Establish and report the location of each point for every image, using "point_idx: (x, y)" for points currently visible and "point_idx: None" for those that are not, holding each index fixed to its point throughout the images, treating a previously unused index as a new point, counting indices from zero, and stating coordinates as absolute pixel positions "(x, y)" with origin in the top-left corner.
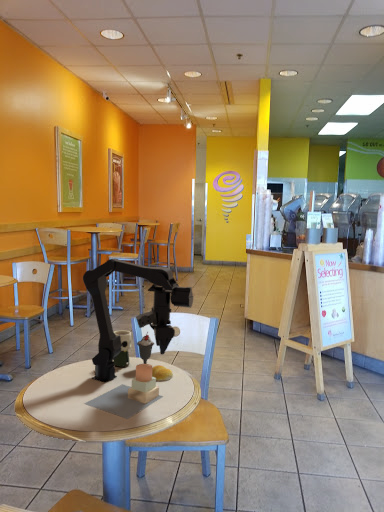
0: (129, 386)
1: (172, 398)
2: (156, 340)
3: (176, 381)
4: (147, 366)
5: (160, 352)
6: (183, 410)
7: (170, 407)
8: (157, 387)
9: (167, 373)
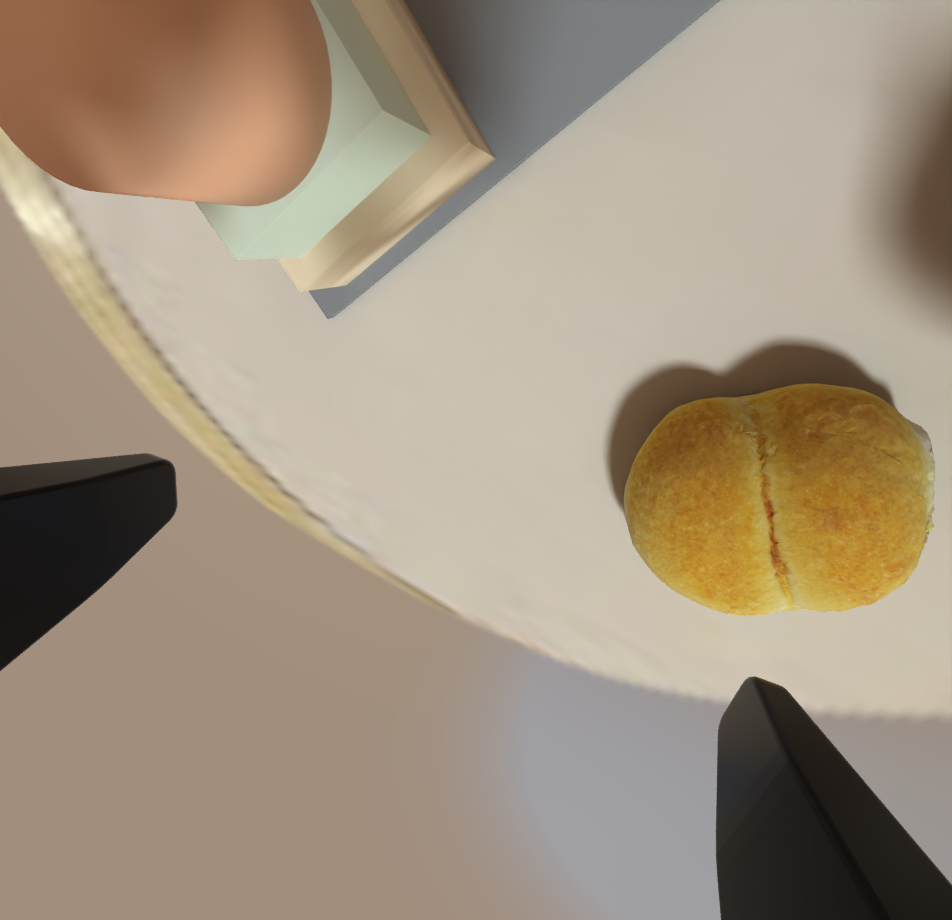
0: (658, 39)
1: (306, 376)
2: (800, 813)
3: (587, 556)
4: (64, 88)
5: (104, 457)
6: (141, 360)
7: (184, 298)
8: (287, 269)
9: (645, 537)
